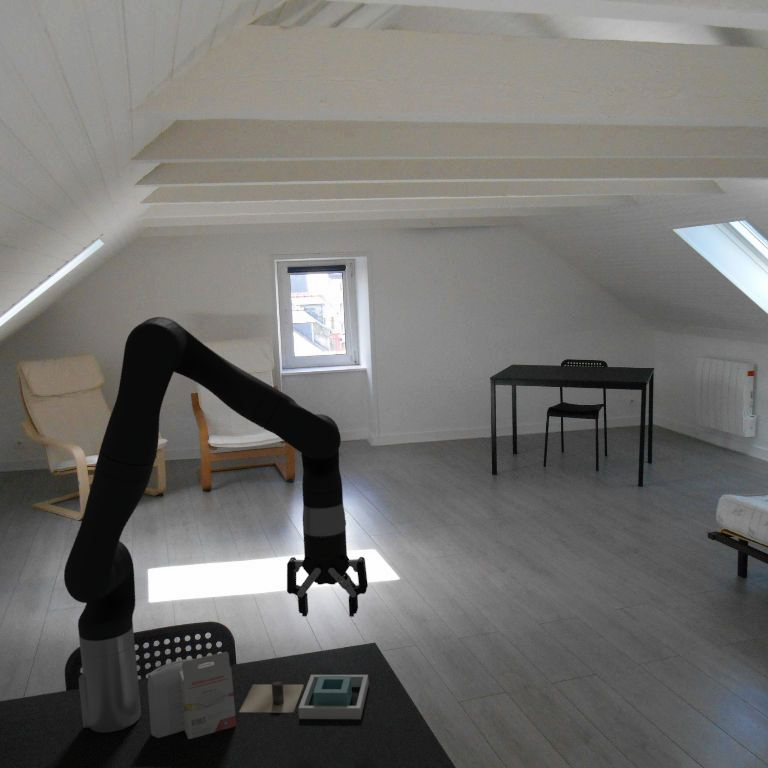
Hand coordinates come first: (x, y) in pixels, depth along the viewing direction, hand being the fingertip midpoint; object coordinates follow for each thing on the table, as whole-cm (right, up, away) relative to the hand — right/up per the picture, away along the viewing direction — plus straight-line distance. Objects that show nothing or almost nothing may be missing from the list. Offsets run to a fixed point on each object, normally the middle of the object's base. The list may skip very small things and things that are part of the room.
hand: (328, 614), depth 144 cm
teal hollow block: (+1, -17, +2) cm, 17 cm away
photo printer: (-26, -20, -2) cm, 33 cm away
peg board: (-11, -18, +5) cm, 22 cm away
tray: (+1, -18, +3) cm, 18 cm away
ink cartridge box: (-21, -20, -3) cm, 29 cm away
